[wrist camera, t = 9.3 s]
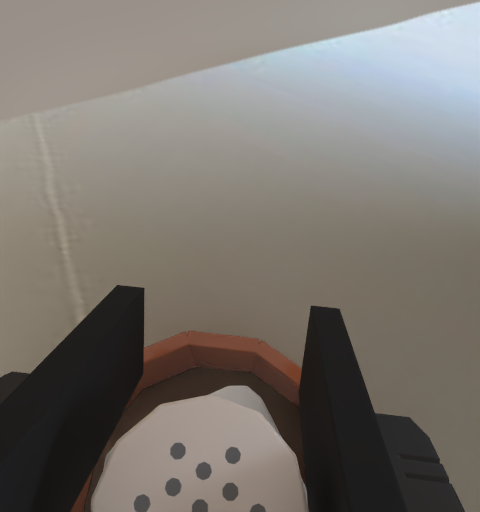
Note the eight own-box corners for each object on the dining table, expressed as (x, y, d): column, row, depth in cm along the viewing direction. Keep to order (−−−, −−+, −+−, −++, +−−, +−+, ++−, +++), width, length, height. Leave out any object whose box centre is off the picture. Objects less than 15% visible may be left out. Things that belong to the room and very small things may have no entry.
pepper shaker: (140, 460, 15) (27, 438, 6) (242, 408, 16) (260, 330, 7) (184, 588, 13) (108, 780, 5) (295, 522, 14) (394, 587, 6)
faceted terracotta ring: (342, 370, 17) (364, 349, 14) (341, 689, 13) (372, 752, 10) (112, 344, 17) (87, 318, 14) (34, 642, 13) (-22, 690, 10)
